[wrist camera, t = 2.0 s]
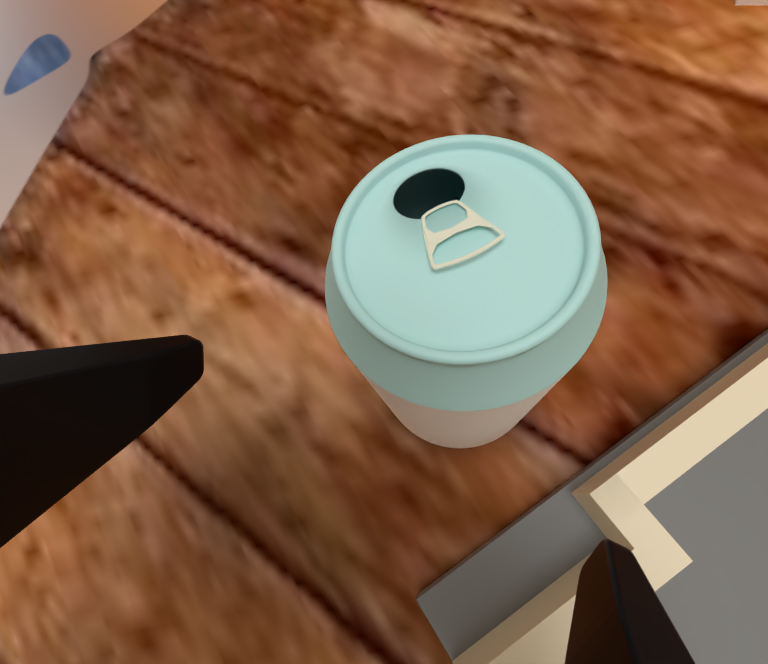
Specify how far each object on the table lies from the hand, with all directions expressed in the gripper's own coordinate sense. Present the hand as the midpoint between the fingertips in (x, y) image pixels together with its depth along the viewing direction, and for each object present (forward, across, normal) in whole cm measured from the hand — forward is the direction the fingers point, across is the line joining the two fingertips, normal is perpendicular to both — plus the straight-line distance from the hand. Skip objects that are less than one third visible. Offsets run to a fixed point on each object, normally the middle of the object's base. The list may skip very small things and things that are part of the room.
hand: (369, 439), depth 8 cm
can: (+11, 0, +5) cm, 12 cm away
